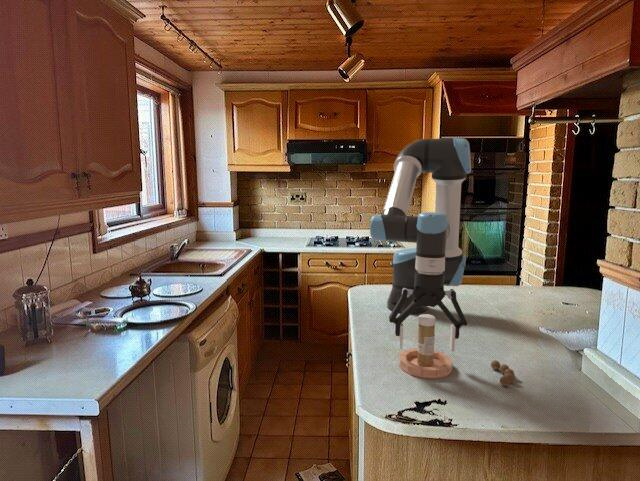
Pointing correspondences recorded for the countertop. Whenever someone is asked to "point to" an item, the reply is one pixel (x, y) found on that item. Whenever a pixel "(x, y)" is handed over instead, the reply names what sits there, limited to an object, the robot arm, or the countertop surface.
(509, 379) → the bead string
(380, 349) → the countertop surface
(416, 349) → the saucer
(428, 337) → the sprinkles bottle
